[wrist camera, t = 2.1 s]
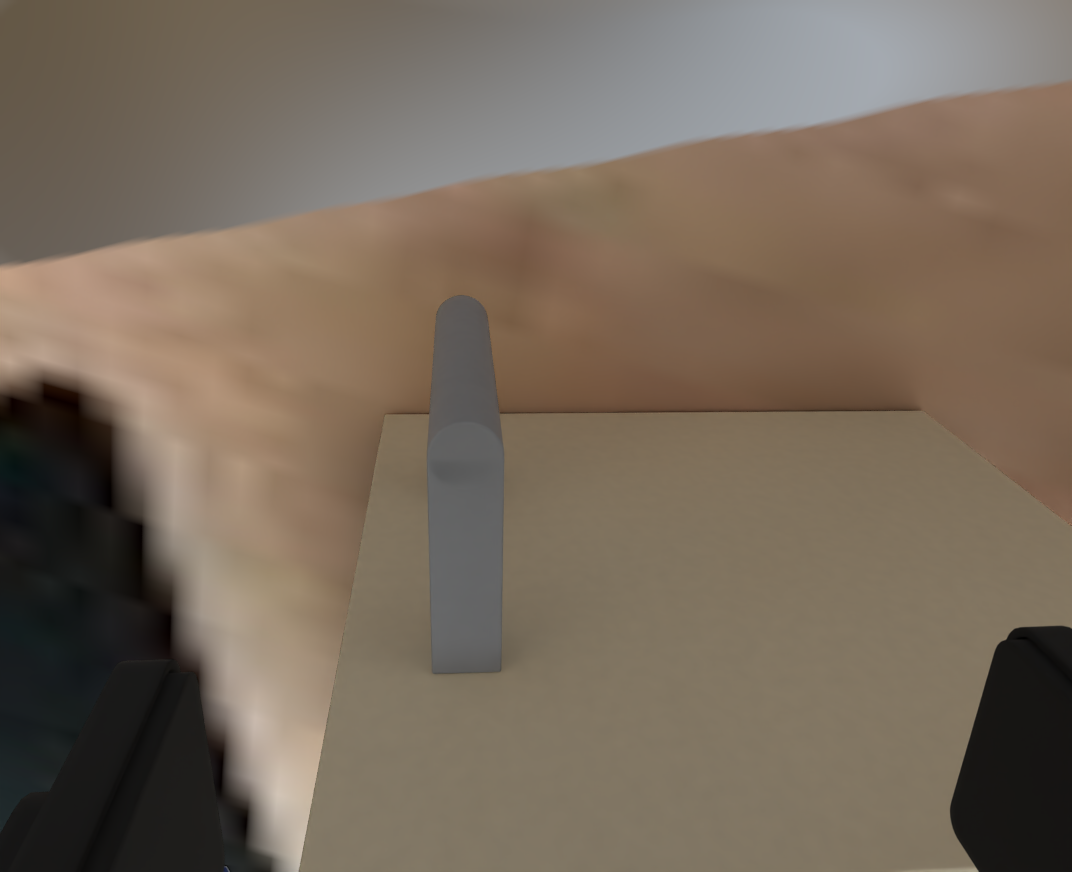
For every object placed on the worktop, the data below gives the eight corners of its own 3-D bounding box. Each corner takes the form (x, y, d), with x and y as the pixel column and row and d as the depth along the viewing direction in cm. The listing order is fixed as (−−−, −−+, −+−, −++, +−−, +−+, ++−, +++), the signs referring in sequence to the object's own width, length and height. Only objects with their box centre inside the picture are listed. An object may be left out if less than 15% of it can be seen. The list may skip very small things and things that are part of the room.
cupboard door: (377, 252, 32) (253, 587, 12) (956, 258, 34) (1654, 554, 14) (385, 437, 35) (296, 946, 15) (918, 432, 37) (1454, 879, 17)
